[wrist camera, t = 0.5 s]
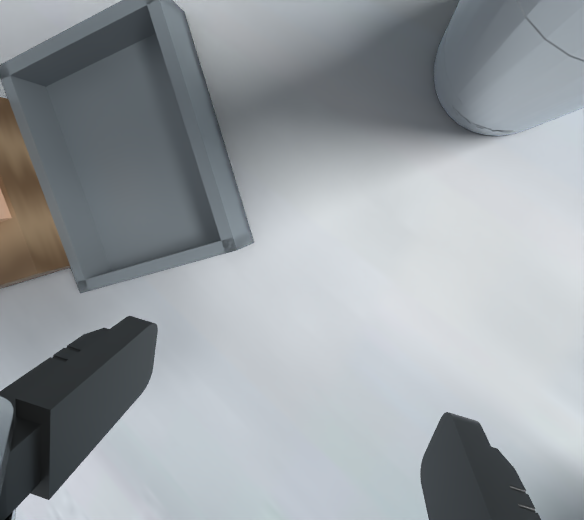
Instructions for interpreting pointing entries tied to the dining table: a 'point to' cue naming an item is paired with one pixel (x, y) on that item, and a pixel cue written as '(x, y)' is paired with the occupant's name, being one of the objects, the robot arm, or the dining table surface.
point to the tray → (127, 144)
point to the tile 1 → (3, 209)
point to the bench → (24, 212)
